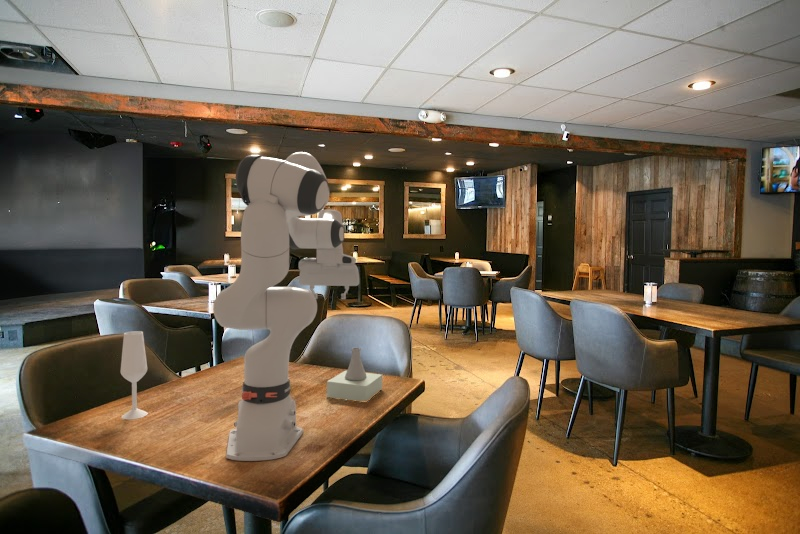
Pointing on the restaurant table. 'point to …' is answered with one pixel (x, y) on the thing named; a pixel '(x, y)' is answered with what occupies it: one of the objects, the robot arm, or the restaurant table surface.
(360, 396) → the sage block
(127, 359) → the champagne flute
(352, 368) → the flask
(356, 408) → the restaurant table surface
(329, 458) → the restaurant table surface
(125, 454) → the restaurant table surface
